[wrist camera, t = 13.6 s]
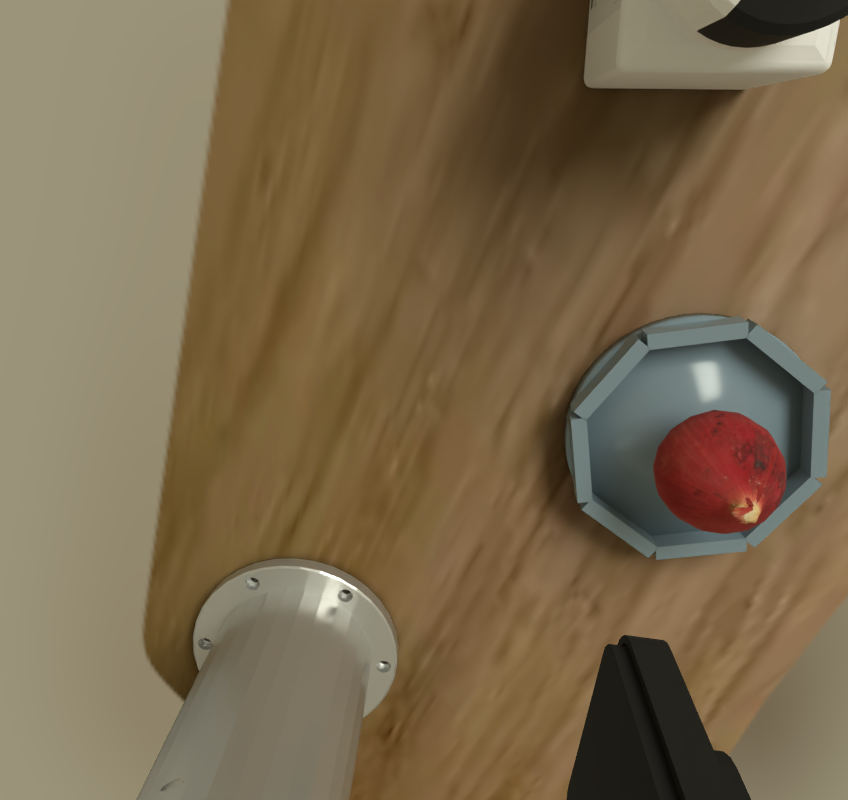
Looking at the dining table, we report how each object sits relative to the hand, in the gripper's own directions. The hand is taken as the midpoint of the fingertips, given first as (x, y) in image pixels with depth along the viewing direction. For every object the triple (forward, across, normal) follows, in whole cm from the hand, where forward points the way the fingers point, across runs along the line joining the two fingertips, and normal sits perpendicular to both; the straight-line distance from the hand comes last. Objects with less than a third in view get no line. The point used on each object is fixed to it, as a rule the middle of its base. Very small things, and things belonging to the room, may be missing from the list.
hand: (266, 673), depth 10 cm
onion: (+28, -16, +6) cm, 32 cm away
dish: (+28, -16, +6) cm, 33 cm away
